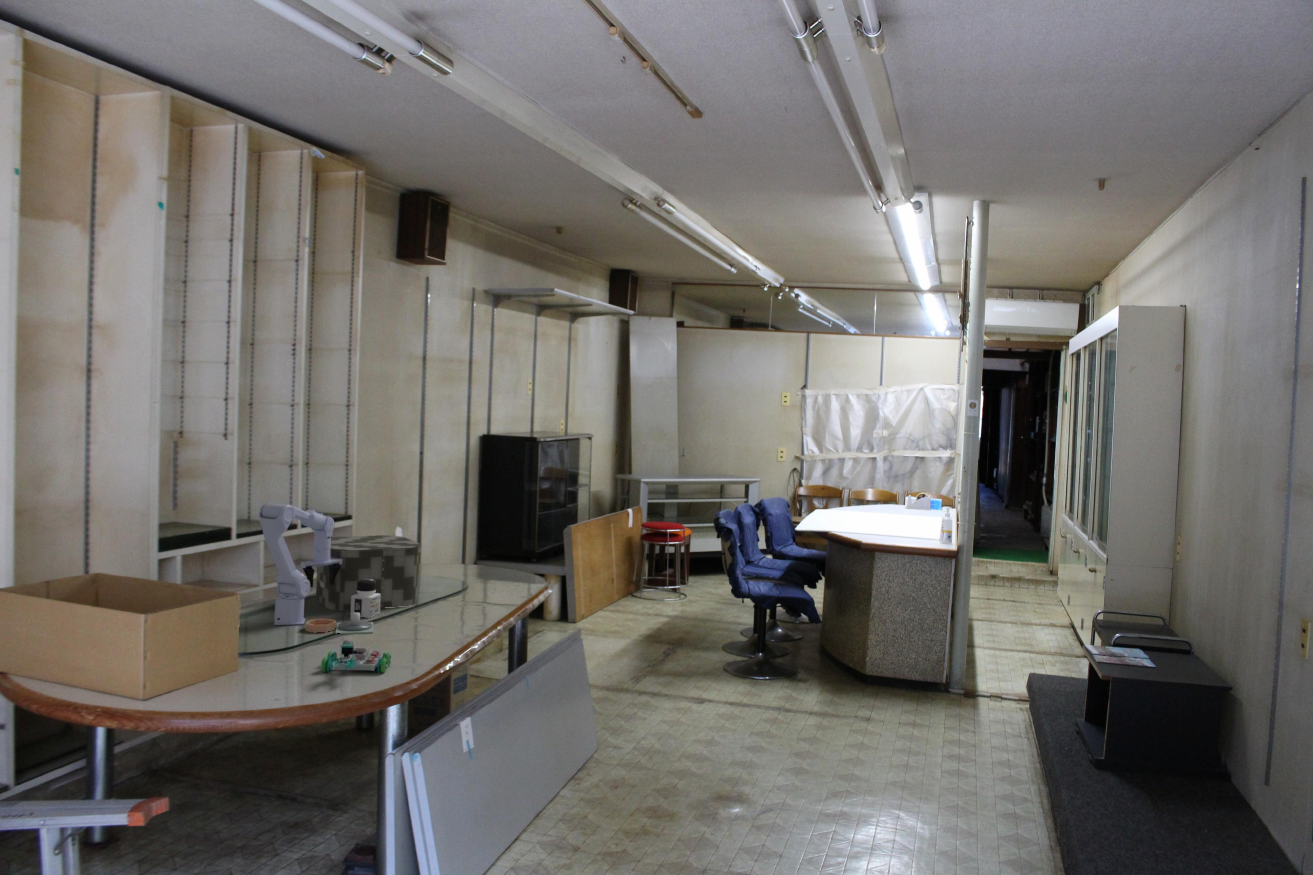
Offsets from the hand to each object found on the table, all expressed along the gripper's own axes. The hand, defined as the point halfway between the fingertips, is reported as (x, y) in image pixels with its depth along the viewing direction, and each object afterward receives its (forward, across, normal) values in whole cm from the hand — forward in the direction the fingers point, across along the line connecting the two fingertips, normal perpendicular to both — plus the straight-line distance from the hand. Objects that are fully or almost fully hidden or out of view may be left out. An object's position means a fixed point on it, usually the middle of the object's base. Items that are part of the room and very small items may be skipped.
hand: (321, 585), depth 327 cm
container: (+11, +12, -10) cm, 19 cm away
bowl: (+10, -9, -22) cm, 26 cm away
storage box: (+11, +24, +13) cm, 30 cm away
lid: (+10, +1, -27) cm, 28 cm away
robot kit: (+10, -21, -74) cm, 78 cm away
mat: (+10, +1, -27) cm, 29 cm away
